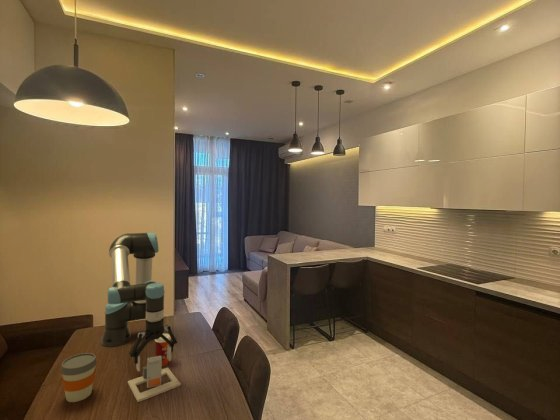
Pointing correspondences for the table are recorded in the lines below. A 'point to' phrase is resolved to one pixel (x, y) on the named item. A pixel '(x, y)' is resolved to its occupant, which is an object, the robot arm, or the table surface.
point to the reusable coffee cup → (78, 376)
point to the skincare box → (154, 371)
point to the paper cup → (162, 349)
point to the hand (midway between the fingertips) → (154, 364)
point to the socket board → (152, 391)
